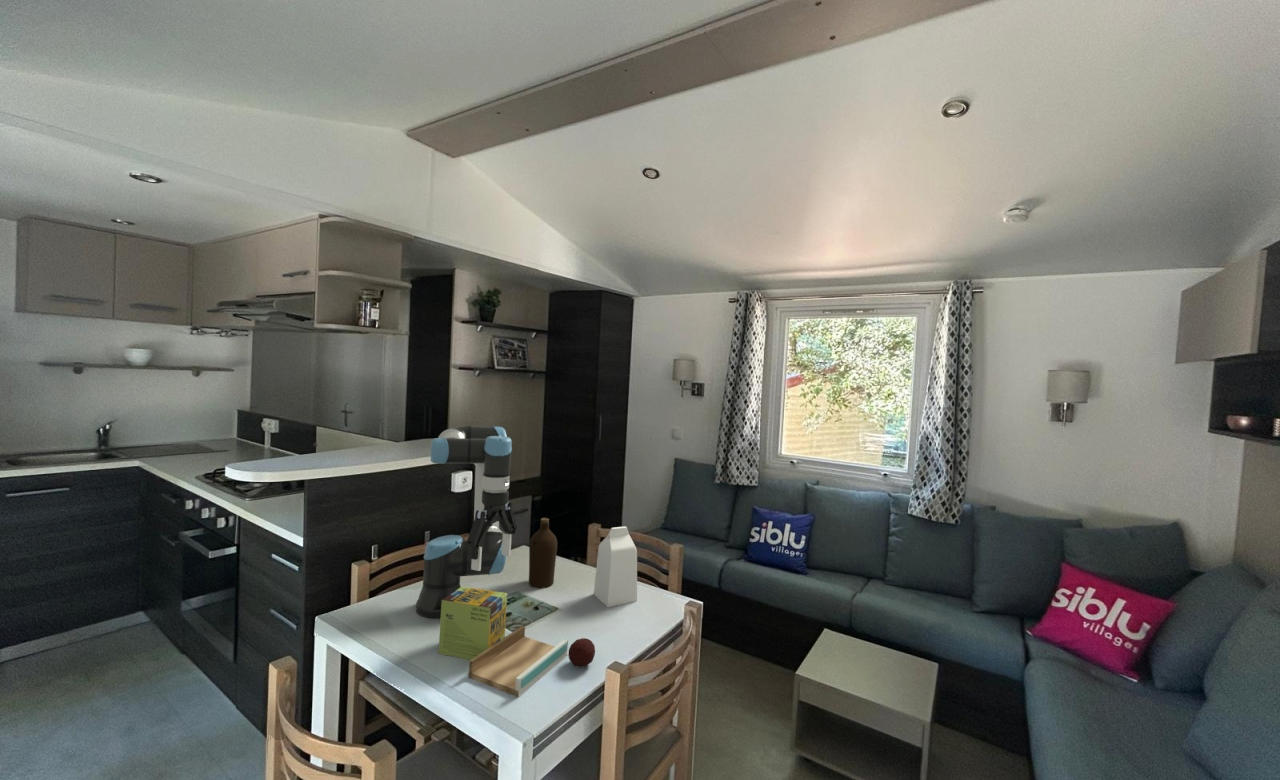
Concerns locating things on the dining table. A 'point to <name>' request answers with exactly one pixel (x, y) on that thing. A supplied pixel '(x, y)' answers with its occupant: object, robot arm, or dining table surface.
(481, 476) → the robot arm
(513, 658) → the shelf board
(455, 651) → the protein box
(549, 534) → the olive oil
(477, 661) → the back lip
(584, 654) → the dark red ball
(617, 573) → the milk
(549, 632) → the dining table surface
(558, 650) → the rail
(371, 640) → the dining table surface
